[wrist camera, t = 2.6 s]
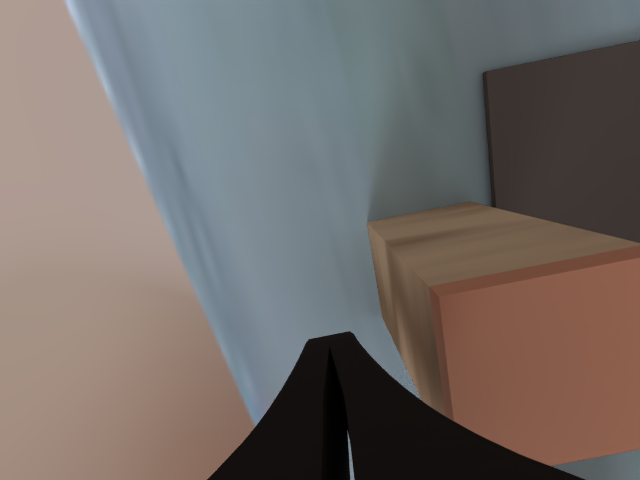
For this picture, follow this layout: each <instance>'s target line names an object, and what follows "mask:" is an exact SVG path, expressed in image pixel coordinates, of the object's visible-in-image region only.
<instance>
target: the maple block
mask: <svg viewBox="0 0 640 480" xmlns="http://www.w3.org/2000/svg"><path fill="white" fill-rule="evenodd" d="M367 227H368V233H369V239H370V245H371V251H372V257H373V263H374V269H375V275H376V281H377V288H378V294H379V300H380V306H381V312H382V318H383V320H384V322H385V324H386V326H387V328H388V330H389V332H390V334H391V337H392V339H393V341H394V343H395V345H396V347H397V349H398V351H399V353H400V355H401V358H402V360H403V362H404V364H405V366H406V368H407V370H408V372H409V374H410V376H411V378H412V381H413V383H414V385H415V387H416V389H417V391H418V393H419V395H420V397H421V399H422V401H423V402H424V403H426V404H427V405H429V406H430V407H432V408H433V409H435V410H436V411H438V412H439V413H441V414H442V415H444V416H446V417H448V418H449V419H451V420H453V421H455V422H456V423H458V424H460V425H462V426H463V427H465V428H467V429H469V430H471V431H472V432H474V433H476V434H478V435H480V436H482V437H484V438H486V439H488V440H490V441H492V442H495V443H497V444H499V445H501V446H503V447H505V448H507V449H510V450H512V451H514V452H516V453H518V454H521V455H523V456H525V457H528V458H531V459H533V460H536V461H538V462H541V463H543V464H546V465H549V466H553V465H558V464H563V463H569V462H574V461H579V460H585V459H590V458H595V457H601V456H606V455H611V454H617V453H622V452H627V451H633V450H638V449H640V243H637V242H633V241H629V240H625V239H621V238H617V237H613V236H609V235H604V234H600V233H596V232H592V231H588V230H584V229H580V228H576V227H572V226H567V225H563V224H559V223H555V222H551V221H547V220H543V219H539V218H535V217H530V216H526V215H522V214H518V213H514V212H510V211H506V210H502V209H498V208H493V207H489V206H485V205H481V204H477V203H473V202H468V203H463V204H458V205H453V206H448V207H443V208H438V209H433V210H428V211H423V212H417V213H412V214H407V215H402V216H397V217H392V218H387V219H382V220H377V221H372V222H367Z"/></svg>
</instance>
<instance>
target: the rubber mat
mask: <svg viewBox="0 0 640 480" xmlns="http://www.w3.org/2000/svg"><path fill="white" fill-rule="evenodd" d="M483 80H484V94H485V107H486V121H487V134H488V148H489V162H490V175H491V189H492V203H493V208H498V209H502V210H506V211H510V212H514V213H518V214H522V215H526V216H530V217H535V218H539V219H543V220H547V221H551V222H555V223H559V224H563V225H567V226H572V227H576V228H580V229H584V230H588V231H592V232H596V233H600V234H604V235H609V236H613V237H617V238H621V239H625V240H629V241H633V242H637V243H640V40H639V41H634V42H629V43H624V44H619V45H614V46H609V47H604V48H600V49H595V50H590V51H585V52H580V53H575V54H570V55H565V56H560V57H555V58H550V59H545V60H540V61H535V62H530V63H525V64H520V65H515V66H510V67H505V68H500V69H495V70H491V71H486V72H484V73H483Z"/></svg>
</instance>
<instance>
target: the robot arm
mask: <svg viewBox="0 0 640 480" xmlns="http://www.w3.org/2000/svg"><path fill="white" fill-rule="evenodd" d="M347 430H348V434H349V438H350V443H351V451H352V460H353V469H354V478H355V480H584V479H582V478H579V477H577V476H574V475H572V474H569V473H566V472H564V471H561V470H559V469H556V468H554V467H551V466H549V465H546V464H543V463H541V462H538V461H536V460H533V459H531V458H528V457H525V456H523V455H521V454H518V453H516V452H514V451H512V450H510V449H507V448H505V447H503V446H501V445H499V444H497V443H495V442H492V441H490V440H488V439H486V438H484V437H482V436H480V435H478V434H476V433H474V432H472V431H471V430H469V429H467V428H465V427H463V426H462V425H460V424H458V423H456V422H455V421H453V420H451V419H449V418H448V417H446V416H444V415H442V414H441V413H439V412H438V411H436V410H435V409H433V408H432V407H430V406H429V405H427V404H426V403H424V402H423V401H422V400H420V399H419V398H417V397H416V396H415V395H413V394H412V393H411V392H409V391H408V390H407V389H406V388H404V387H403V386H402V385H401V384H400V383H398V382H397V381H396V380H395V379H394V378H393V377H391V376H390V375H389V374H388V373H387V372H386V371H385V370H384V369H383V368H382V367H381V366H380V365H379V364H378V363H377V362H376V361H375V360H374V359H373V358H372V357H371V356H370V355H369V354H368V353H367V351H366V350H365V349H364V348H363V347H362V345H361V344H360V343H359V341H358V340H357V339H356V337H355V335H354V334H353V333H351V332H350V331H349V332H344V333H339V334H334V335H329V336H323V337H318V338H313V339H309V340H308V341H307V343H306V344H305V346H304V349H303V351H302V353H301V355H300V357H299V359H298V361H297V363H296V365H295V367H294V369H293V370H292V372H291V374H290V376H289V377H288V379H287V381H286V383H285V385H284V386H283V388H282V389H281V391H280V392H279V394H278V396H277V397H276V399H275V400H274V402H273V403H272V405H271V406H270V408H269V409H268V411H267V412H266V414H265V415H264V416H263V418H262V419H261V420H260V422H259V423H258V424H257V426H256V427H255V428H254V429H253V431H252V432H251V433H250V435H249V436H248V437H247V438H246V439H245V440H244V442H243V443H242V444H241V445H240V446H239V447H238V448H237V449H236V450H235V451H234V452H233V453H232V454H231V456H229V458H228V459H227V460H226V461H225V462H224V463H223V464H222V465H221V466H220V467H219V468H218V469H217V471H215V472H214V473H213V474H212V475H211V476H210V478H208V479H207V480H350V469H349V451H348V434H347Z"/></svg>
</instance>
